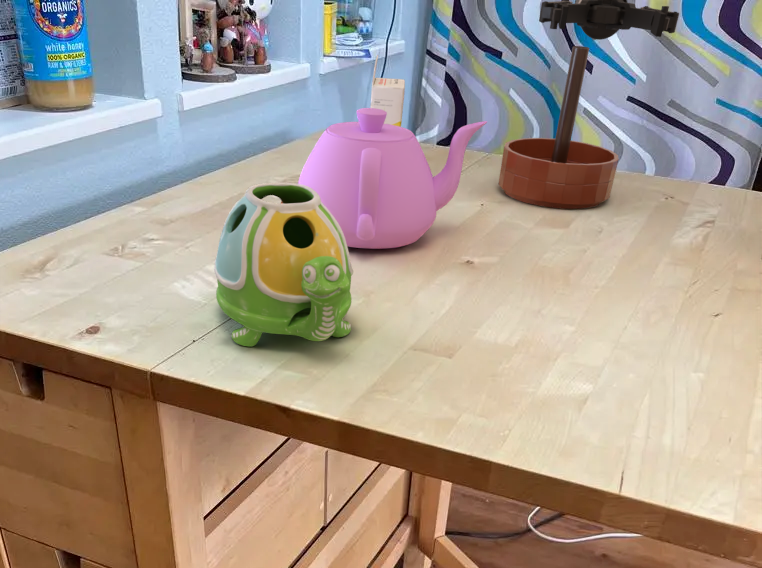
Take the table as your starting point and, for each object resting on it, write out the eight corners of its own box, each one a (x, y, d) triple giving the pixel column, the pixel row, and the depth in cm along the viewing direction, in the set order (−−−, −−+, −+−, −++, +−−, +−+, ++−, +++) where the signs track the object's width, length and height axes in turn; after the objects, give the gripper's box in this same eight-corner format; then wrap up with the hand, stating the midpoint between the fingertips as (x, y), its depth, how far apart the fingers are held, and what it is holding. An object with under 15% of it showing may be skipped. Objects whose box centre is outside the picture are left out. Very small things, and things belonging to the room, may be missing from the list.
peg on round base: (567, 183, 122) (595, 45, 111) (579, 195, 117) (610, 51, 106) (528, 182, 121) (553, 42, 110) (539, 193, 116) (566, 48, 105)
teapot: (481, 271, 91) (502, 138, 83) (289, 261, 90) (290, 124, 82) (460, 214, 108) (475, 99, 100) (299, 205, 108) (300, 88, 99)
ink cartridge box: (398, 174, 124) (407, 64, 115) (366, 171, 124) (372, 61, 115) (398, 160, 131) (406, 55, 122) (367, 158, 131) (374, 53, 122)
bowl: (587, 181, 127) (597, 140, 123) (623, 212, 114) (635, 166, 110) (487, 178, 125) (493, 135, 121) (512, 208, 112) (520, 162, 109)
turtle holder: (259, 386, 66) (256, 239, 59) (201, 304, 79) (193, 175, 72) (394, 367, 70) (407, 227, 63) (318, 292, 83) (322, 169, 76)
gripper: (673, 43, 133) (693, 59, 116) (521, 31, 135) (519, 45, 118) (686, -12, 128) (710, -4, 111) (529, -23, 131) (529, -17, 114)
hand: (612, 21), depth 115 cm, fingers open, 13 cm apart
